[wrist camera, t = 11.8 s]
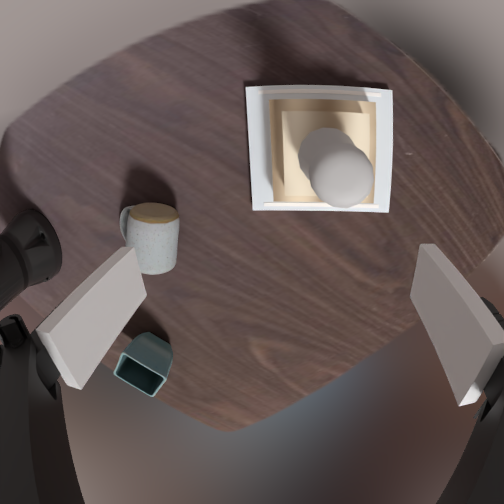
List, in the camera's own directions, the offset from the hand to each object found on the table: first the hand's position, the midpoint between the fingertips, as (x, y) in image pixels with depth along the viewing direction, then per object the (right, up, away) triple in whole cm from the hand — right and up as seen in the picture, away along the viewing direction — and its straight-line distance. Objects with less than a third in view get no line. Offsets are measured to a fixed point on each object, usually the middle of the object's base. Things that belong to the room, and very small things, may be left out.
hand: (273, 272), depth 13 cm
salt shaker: (+7, +11, +16) cm, 21 cm away
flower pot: (-20, -17, +42) cm, 49 cm away
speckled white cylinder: (-16, +5, +31) cm, 35 cm away
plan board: (+8, +14, +22) cm, 27 cm away
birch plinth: (+8, +14, +22) cm, 27 cm away
